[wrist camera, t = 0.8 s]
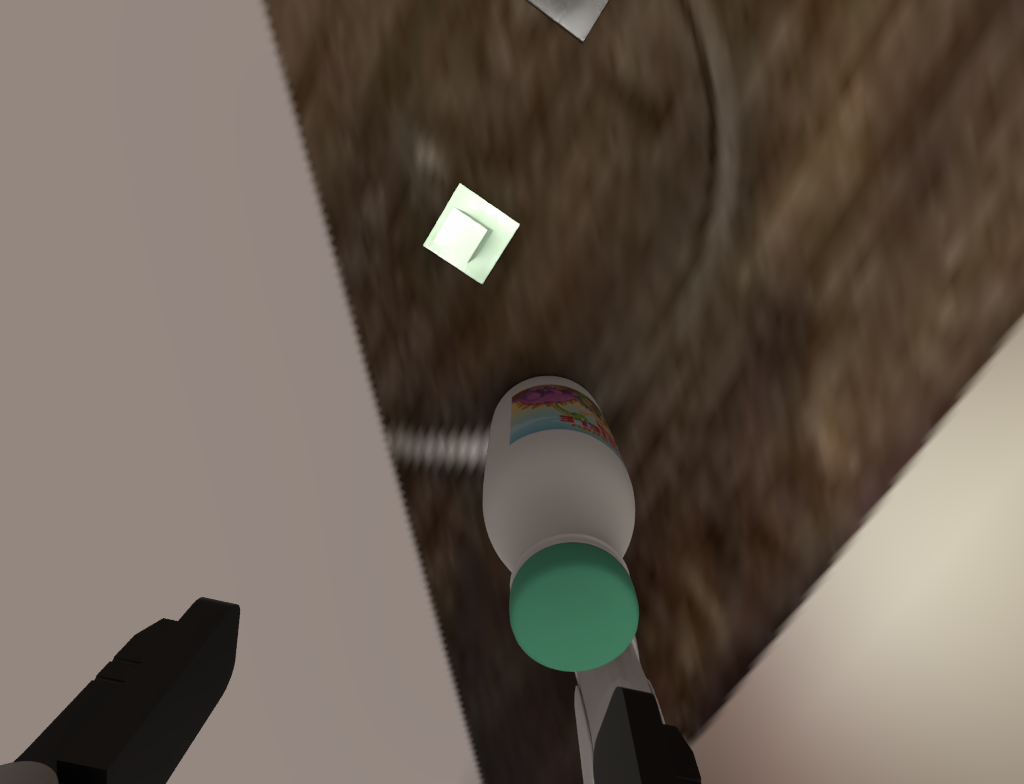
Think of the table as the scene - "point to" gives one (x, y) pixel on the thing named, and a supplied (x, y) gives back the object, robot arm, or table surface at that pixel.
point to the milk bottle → (561, 524)
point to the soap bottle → (604, 699)
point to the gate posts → (470, 219)
